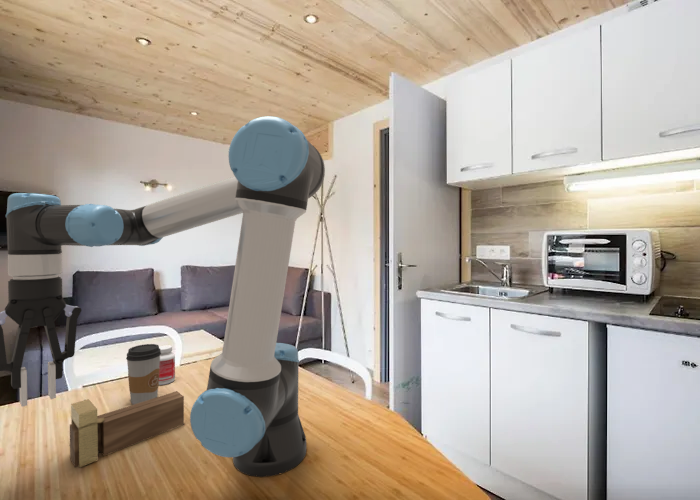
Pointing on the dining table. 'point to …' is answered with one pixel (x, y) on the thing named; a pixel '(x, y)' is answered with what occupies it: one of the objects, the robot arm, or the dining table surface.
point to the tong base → (74, 430)
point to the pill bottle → (166, 365)
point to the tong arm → (141, 423)
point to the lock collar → (86, 430)
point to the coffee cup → (143, 372)
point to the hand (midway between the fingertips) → (38, 399)
